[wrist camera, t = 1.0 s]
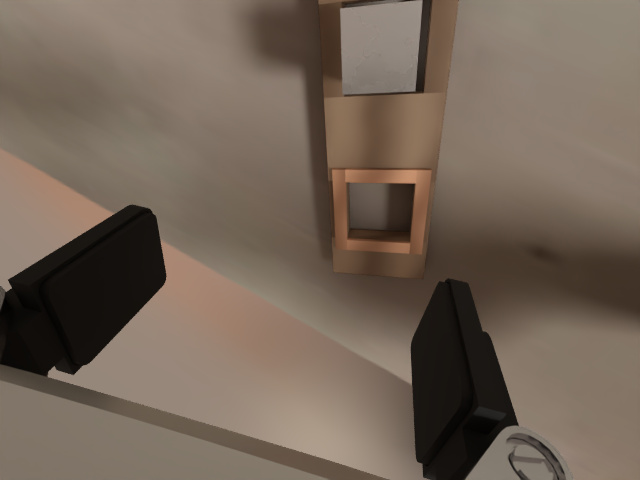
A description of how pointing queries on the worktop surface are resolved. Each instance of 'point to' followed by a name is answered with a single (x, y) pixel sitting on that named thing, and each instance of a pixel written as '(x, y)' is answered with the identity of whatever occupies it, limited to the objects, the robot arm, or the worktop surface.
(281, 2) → the worktop surface
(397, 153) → the tan flat board
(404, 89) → the grey square block
